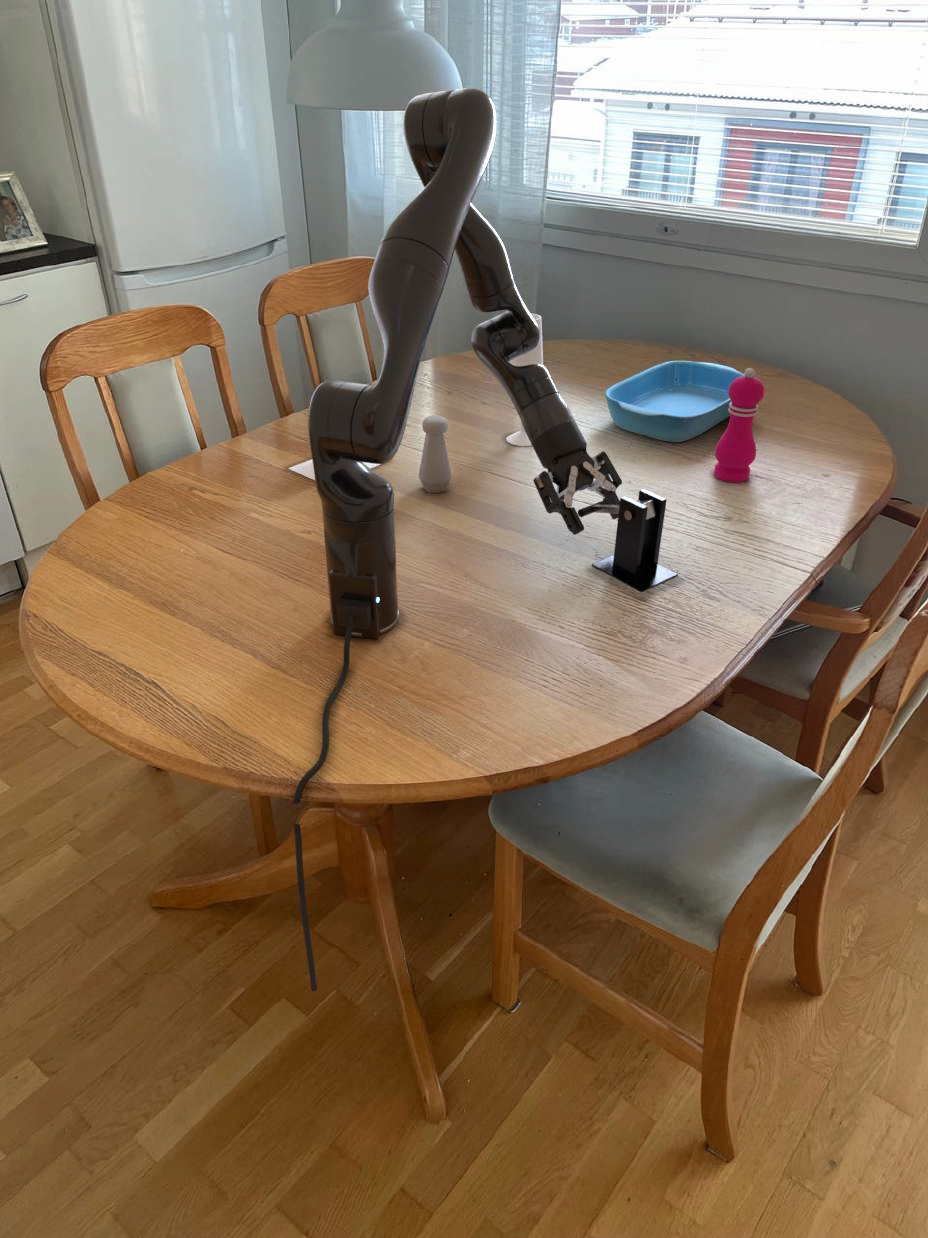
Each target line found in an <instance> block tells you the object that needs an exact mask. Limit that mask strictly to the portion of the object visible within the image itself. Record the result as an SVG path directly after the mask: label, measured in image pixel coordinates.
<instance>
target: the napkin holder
mask: <svg viewBox="0 0 928 1238" xmlns="http://www.w3.org/2000/svg"><path fill="white" fill-rule="evenodd" d="M363 463H364V464H365V465H366V466H367V467H369V468H370V469H371V470H372V469H373V468H376V467H378V466H380V465H382V464H372V463H365V462H363ZM287 469H288V470H290V471H293V472H294V473H297V474H299V475H302V476H304V477H306V478H308V479H311V480H313V481H315V474H314V467H313V460H312V459H309V460H306V461H304V462H301V463H298V464H295V465H293V466H291V467H288V468H287Z"/></svg>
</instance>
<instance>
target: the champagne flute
mask: <svg viewBox="0 0 928 1238" xmlns="http://www.w3.org/2000/svg"><path fill="white" fill-rule="evenodd" d="M531 314H532V316H533V317H534V319H535V321H536V322H537V324H538V327H539V330H540V339H539V342H538V345H537V347H536V348H535V349H534V350H532V351H531V352H529V353H527V354H524V355H522V356H520V357H518V358H516V359H514V360H512V361H510V362H509V363H511V364H512V365H514V366H526V365H531V364H542V365H544V353H543V352H544V351H543V349H544V348H543V326H542V325H543V324H542V323H543V322H542V316H541V315H539V314H537V313H531ZM506 442H507V443H509V444H511V445H514V446H518V447H530V446H532V444H531V442H530V440H529V438H528V436H527V434H526V432H525V430H524V428H523V425H522V422H521V421H520V430H518V431H515V432H514V433H512V434H510V435H508V436H507V437H506Z"/></svg>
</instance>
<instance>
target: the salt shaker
mask: <svg viewBox="0 0 928 1238" xmlns="http://www.w3.org/2000/svg"><path fill="white" fill-rule="evenodd" d="M421 426H422V427H421V428H422V432H424V433H425V435H424V441H423V446H422V452H421V460H420V465H419V470H418V479H419V482H420V483H421V486H422V487H423V489H424V490H425V491H426V492H428V493H435V494H439V493H442V492H445V491H447V489H448V488H449V484H450V482H451V480H452V477H453V474H452V469H451V464H450V458H449V454H448V449H447V443H446V439H445V433H447V431H448V426H449V425H448V420H447V419H446V418H445V417H444V416H441V415H428V416H427V417H425V418H424V419H423V420H422V424H421Z"/></svg>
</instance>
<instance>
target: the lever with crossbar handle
mask: <svg viewBox="0 0 928 1238" xmlns="http://www.w3.org/2000/svg"><path fill="white" fill-rule="evenodd" d="M635 501H636V502H639V503H641V504H643V505H645V506H647V507H648V509H647V517H646V520H647V519H649V518H652V517H654V516H655V509H654V502H653V500H638V499H637V500H635ZM610 513H619V505H608V502H607V501H606V500H603V499H602V500H601V501H597V502H596V503H593V504H590V505H587V506H585V507H582V508H580V509H578V510H577V514H578V516H579V518H584V517H586V516H589V515H591V514H610Z"/></svg>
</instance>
